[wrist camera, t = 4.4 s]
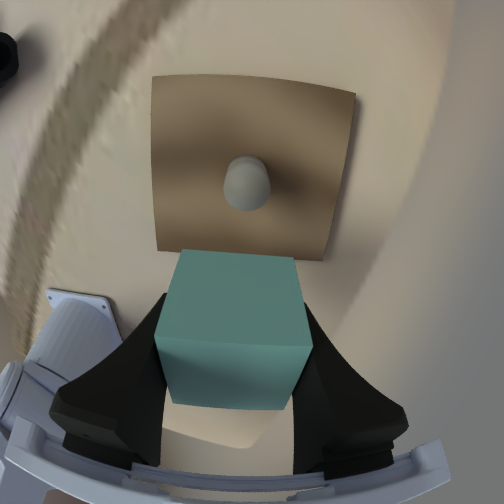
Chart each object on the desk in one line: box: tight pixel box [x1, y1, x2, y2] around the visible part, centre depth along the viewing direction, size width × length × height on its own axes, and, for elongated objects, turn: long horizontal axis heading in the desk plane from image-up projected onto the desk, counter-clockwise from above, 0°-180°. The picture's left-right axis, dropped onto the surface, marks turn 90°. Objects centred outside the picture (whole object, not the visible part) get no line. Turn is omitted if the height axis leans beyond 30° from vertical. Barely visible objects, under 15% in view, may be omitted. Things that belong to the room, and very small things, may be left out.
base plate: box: [151, 74, 356, 261], centre depth 16 cm, size 12×12×4 cm
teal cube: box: [154, 249, 313, 410], centre depth 12 cm, size 5×5×5 cm
